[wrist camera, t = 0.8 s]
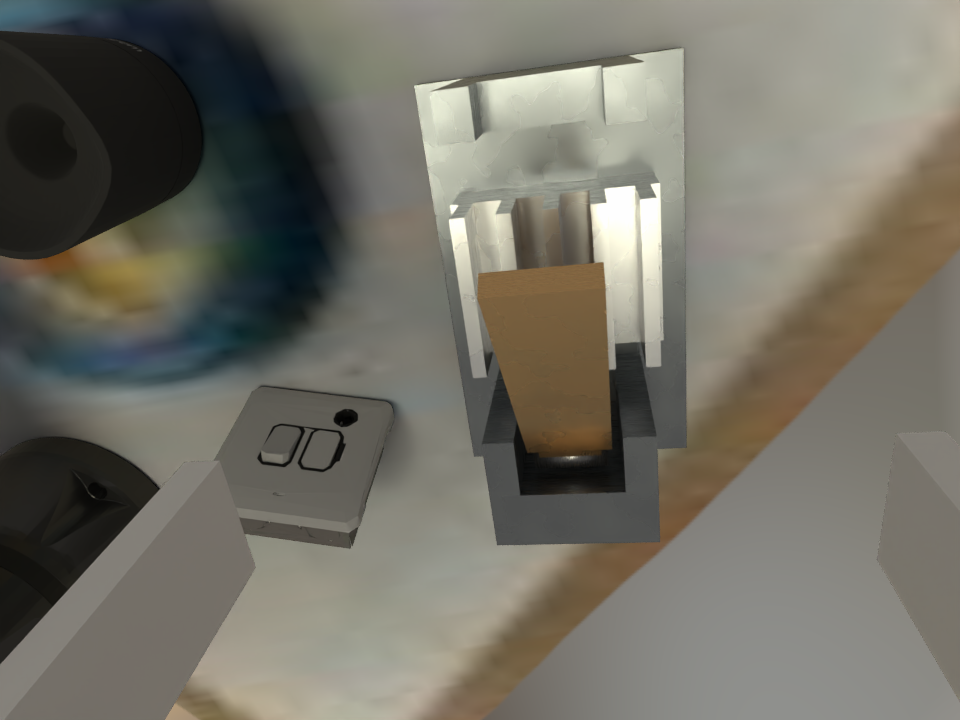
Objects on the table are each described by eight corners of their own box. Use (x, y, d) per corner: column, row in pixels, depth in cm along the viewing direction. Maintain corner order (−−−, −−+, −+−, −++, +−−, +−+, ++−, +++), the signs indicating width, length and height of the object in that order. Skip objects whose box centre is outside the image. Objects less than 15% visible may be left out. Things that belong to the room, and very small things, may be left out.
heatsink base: (684, 438, 42) (713, 549, 33) (476, 448, 44) (450, 553, 35) (680, 47, 32) (719, 52, 24) (418, 84, 35) (363, 101, 26)
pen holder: (246, 136, 37) (141, 168, 28) (147, 241, 41) (26, 298, 32) (112, -12, 35) (-50, -28, 26) (19, 113, 38) (-152, 136, 29)
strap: (610, 443, 34) (613, 469, 34) (532, 447, 35) (532, 473, 34) (603, 256, 21) (605, 293, 21) (478, 268, 22) (477, 304, 21)
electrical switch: (397, 399, 43) (354, 500, 35) (398, 462, 46) (358, 568, 38) (256, 382, 44) (183, 476, 36) (265, 444, 47) (199, 545, 39)
